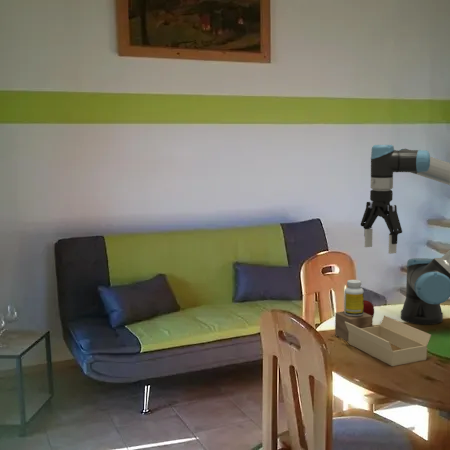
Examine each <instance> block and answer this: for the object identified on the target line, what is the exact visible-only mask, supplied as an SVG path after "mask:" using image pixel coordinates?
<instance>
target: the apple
mask: <svg viewBox="0 0 450 450" xmlns="http://www.w3.org/2000/svg"><path fill="white" fill-rule="evenodd" d="M363 312H364V313H367V314H369V315H371V316H373V317H374V315H375V307H374V304H373V303H372V302H370V301H369V300H365V299H364V308H363Z"/></svg>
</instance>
